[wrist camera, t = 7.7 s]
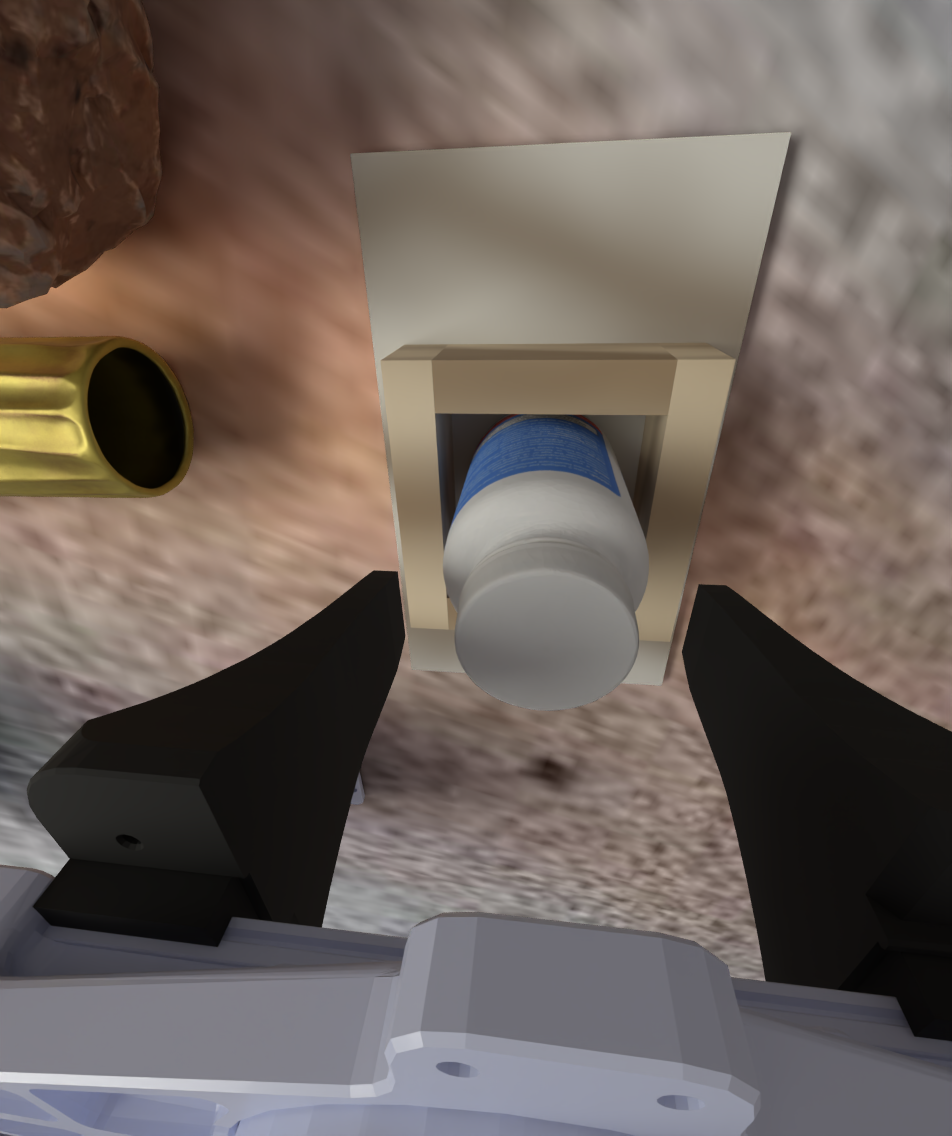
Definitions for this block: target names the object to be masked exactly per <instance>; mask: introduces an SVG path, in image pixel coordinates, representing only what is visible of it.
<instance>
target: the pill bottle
mask: <svg viewBox="0 0 952 1136" xmlns="http://www.w3.org/2000/svg"><path fill="white" fill-rule="evenodd" d="M648 574H649V553H648V549H647V544H646V540H645V537H644V534H643V531H642V528H641V525H640V522H639V520H638V517H637V514H636V512H635V509H634V506H633V503H632V501H631V498H630V495H629V492H628V490H627V487H626V484H625V481H624V478H623V475H622V473H621V470H620V467H619V464H618V461H617V458H616V455H615V452H614V451H613V449H612V446H611V444H610V442H609V440H608V439H607V437H606V435H605V434H604V433H603V431H602V430H601V429H600V428H599V427H598V426H597V425H596V424H595V423H594V422H593V421H592V420H590V419H589V418H588V417H586V416H585V415H567V414H508V415H506V416H504V417H503V418H501V419H500V420H499V421H497V422H496V423H495V424H494V425H493V426H492V427H491V428H490V429H489V430H488V431H487V432H486V433H485V435H484V436H483V437H482V439H481V440H480V442H479V444H478V446H477V448H476V450H475V452H474V454H473V457H472V460H471V463H470V467H469V470H468V473H467V477H466V480H465V483H464V486H463V489H462V493H461V496H460V499H459V502H458V505H457V508H456V511H455V514H454V518H453V521H452V524H451V527H450V530H449V533H448V537H447V541H446V545H445V550H444V556H443V575H444V580H445V585H446V589H447V593H448V596H449V598H450V601H451V603H452V605H453V606H454V608H455V610H456V612H457V613H458V614H457V619H456V625H455V635H454V640H455V648H456V653H457V656H458V659H459V661H460V664H461V666H462V668H463V669H464V671H465V672H466V674H467V675H468V676H469V677H470V679H471V680H472V681H473V682H474V683H475V684H476V685H477V686H478V687H480V688H481V689H482V690H484V691H485V692H486V693H488V694H489V695H491V696H493V697H495V698H496V699H498V700H500V701H503V702H505V703H508V704H511V705H514V706H518V707H521V708H526V709H532V710H545V711H553V710H565V709H571V708H576V707H579V706H583V705H586V704H589V703H591V702H594V701H596V700H598V699H599V698H601V697H603V696H605V695H607V694H608V693H610V692H611V691H612V690H614V689H615V688H616V687H617V686H618V685H620V684H621V682H622V681H623V680H624V679H625V678H626V677H627V675H628V674H629V672H630V671H631V669H632V667H633V665H634V663H635V660H636V658H637V653H638V649H639V630H638V625H637V619H636V615H635V612H636V610H637V608H638V607H639V605H640V603H641V601H642V598H643V596H644V593H645V590H646V586H647V582H648Z"/></svg>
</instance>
